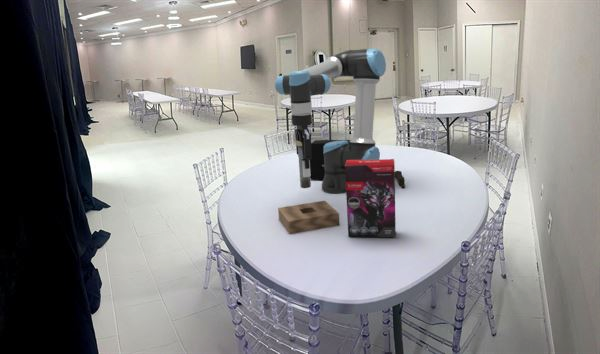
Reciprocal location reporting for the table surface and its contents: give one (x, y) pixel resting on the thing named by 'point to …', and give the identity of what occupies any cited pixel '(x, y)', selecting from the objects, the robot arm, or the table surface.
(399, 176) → the hand tool
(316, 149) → the black hard case
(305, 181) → the pin
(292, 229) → the hole block
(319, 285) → the table surface
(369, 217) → the graphics card box
